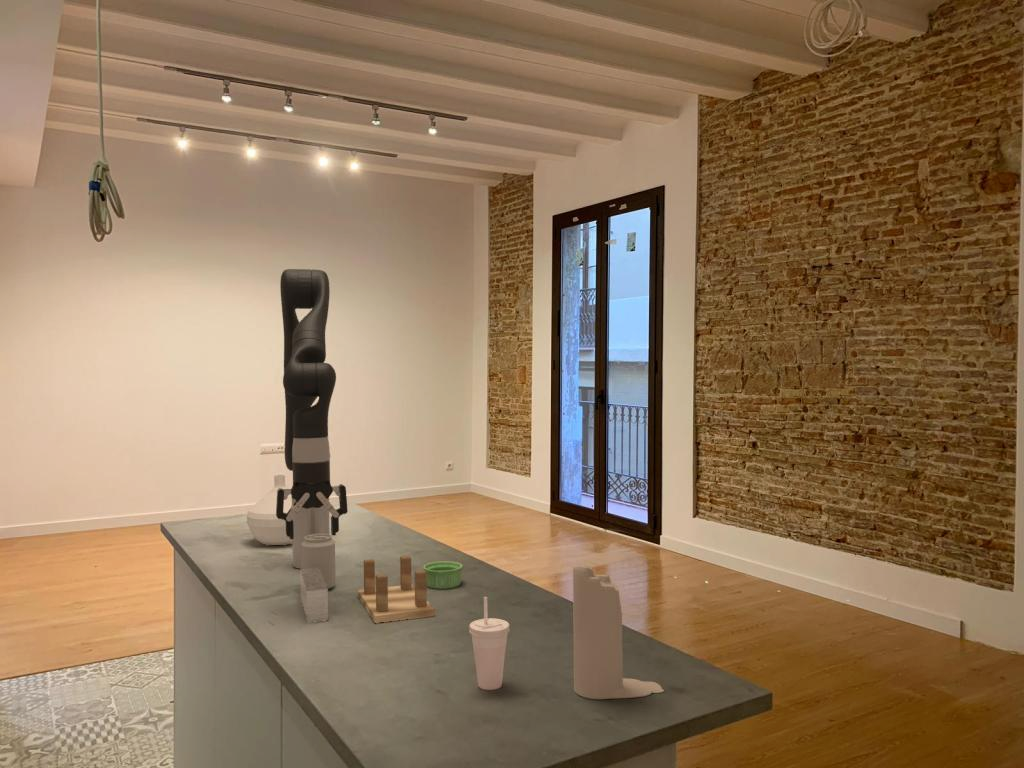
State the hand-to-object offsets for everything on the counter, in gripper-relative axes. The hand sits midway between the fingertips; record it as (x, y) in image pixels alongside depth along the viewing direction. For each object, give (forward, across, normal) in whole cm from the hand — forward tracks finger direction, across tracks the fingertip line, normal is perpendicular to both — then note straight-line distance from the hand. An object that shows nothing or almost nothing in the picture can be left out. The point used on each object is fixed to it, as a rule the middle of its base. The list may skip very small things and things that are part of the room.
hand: (312, 536), depth 165 cm
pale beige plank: (+15, 0, 0) cm, 15 cm away
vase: (+15, +1, -67) cm, 69 cm away
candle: (+16, -39, +60) cm, 73 cm away
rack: (+15, -16, +5) cm, 23 cm away
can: (+15, -3, -15) cm, 22 cm away
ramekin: (+15, -30, -7) cm, 34 cm away
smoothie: (+16, -21, +51) cm, 57 cm away
